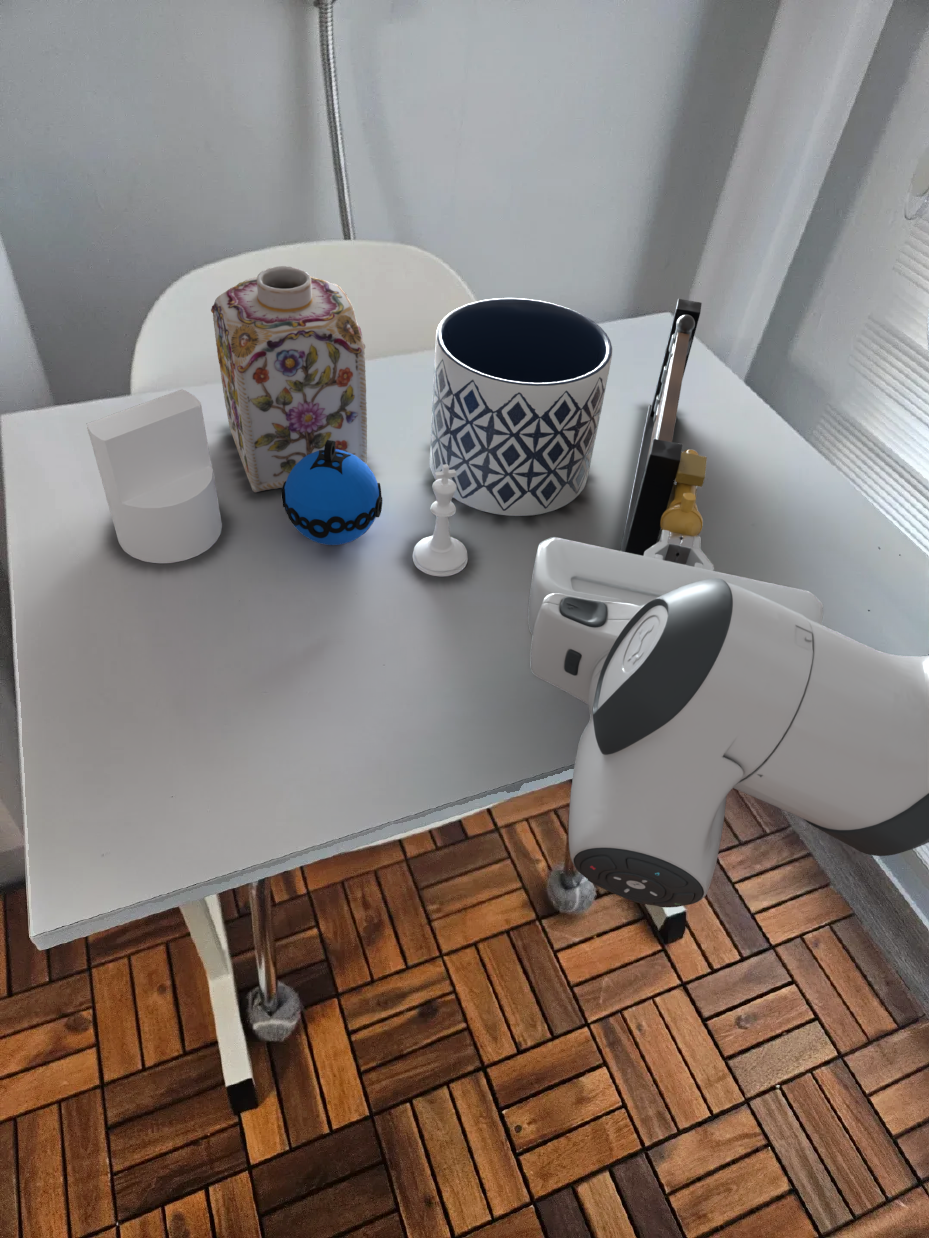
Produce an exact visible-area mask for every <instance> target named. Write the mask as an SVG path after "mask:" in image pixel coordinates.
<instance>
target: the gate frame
mask: <svg viewBox="0 0 929 1238" xmlns="http://www.w3.org/2000/svg"><path fill="white" fill-rule="evenodd" d="M702 304H703V303H702V302H700V301H694V300H688V299H683V298H678V299H677V302H676V306H675V309H674V314H673V318H672V322H671V326H670V330H669V334H668V338H667V343H666V346H665V350H664V354H663V359H662V362H661V367H660V370H659V375H658V378H657V383H656V387H655V391H654V393H653V399H652V403H651V404H649V405H648V407H647V413H646V416H645V417H646V418H645V423H644V428H643V432H642V439H641V444H640V449H639V453H638V457H637V458H638V459H637V463H636V468H635V473H634V477H633V478H634V479H633V483H632V489H631V493H630V499H629V506H628V510H627V515H626V520H625V525H624V530H623V534H622V540H621V546H620V550H619V551H622V552H627V553H632V554H637V555H641V556H643V555H644V552H645V551H646V550H647V549H649V548H650V547H652V546H653V545H655V544H656V543H658V539H659V536H660V533H661V530H662V529H661V525H660V522H661V517H662V515H663V513H664V512H665V511H666V510H667V509H668V508H669V506H670V504H671V503H672V502H673V501H674V497H675V490H676V483H677V482H678V483H683V484H688V485H693V486H696V493H695V496H696V497H698V496H697V495H698V488H702V487H704V483H705V479H706V474H707V473H706V471H707V461H708V457H707V456H704V455H700V454H699V455H694V454H689V453H684V452H683V444H682V443H679V442H673V441H672V442H668V441H663V440H658V439H653V440H652V444H651V448H650V442H651V437H652V432H653V427H654V421H653V418H654V414H655V412H654V406H655V402H656V398H657V396H658V395H659V394H660V390H661V386H662V382H661V378H662V374H663V370H664V367H665V366H666V365H667V362H668V358H669V354H670V352H669V346H670V342H671V338H672V335H673V334H675V331H676V322H677V320H678V318H679V317H680V316H682V315H690V316H692V317H693V318H694V321H695V326H694V328H693V330H692V333H691V338H692V341H691V345H690V349H689V353H688V355H686V361H685V367H684V373H683V377H684V375H685V371H686V367H687V365H688V361H689V357H690V353H691V349H692V346H693V342H694V339H695V334H696V331H697V328H698V323H699V321H700V316H701V311H702ZM683 379H684V378H683ZM683 379H682V381H683ZM649 448H650V452H649ZM648 453H649V456H648ZM647 458H648V460H647ZM646 463H647V464H646ZM697 487H698V488H697ZM695 503H696V504H697V500H696V501H695Z"/></svg>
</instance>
